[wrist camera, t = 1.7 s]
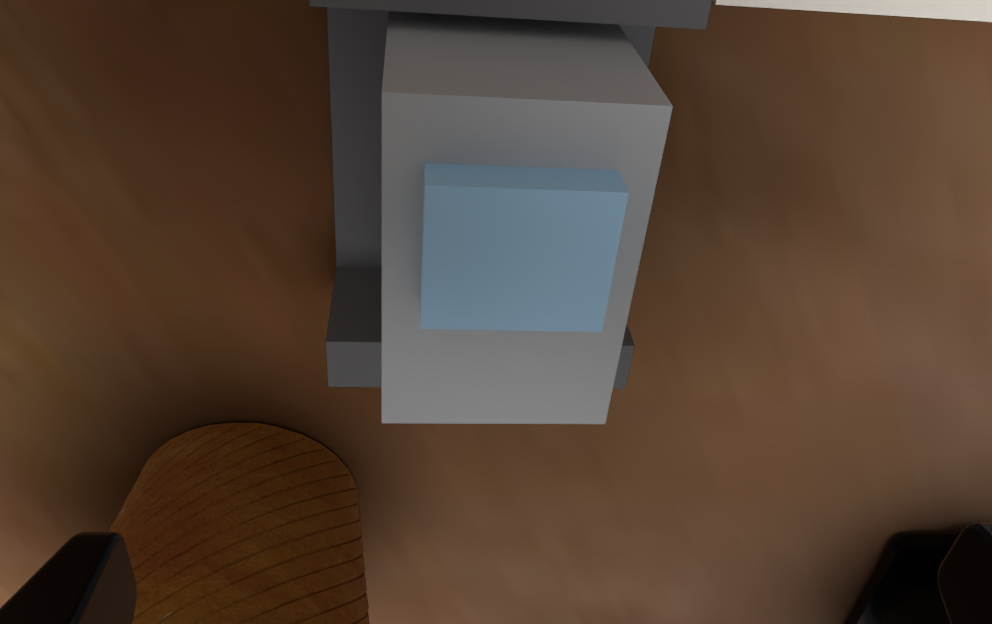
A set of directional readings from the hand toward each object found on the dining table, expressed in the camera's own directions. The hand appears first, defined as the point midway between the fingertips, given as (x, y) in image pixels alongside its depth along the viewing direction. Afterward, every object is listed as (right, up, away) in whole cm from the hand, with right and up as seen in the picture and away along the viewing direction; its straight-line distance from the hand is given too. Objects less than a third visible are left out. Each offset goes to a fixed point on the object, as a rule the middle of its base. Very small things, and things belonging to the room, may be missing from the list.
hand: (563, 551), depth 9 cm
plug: (-1, +6, +9) cm, 11 cm away
